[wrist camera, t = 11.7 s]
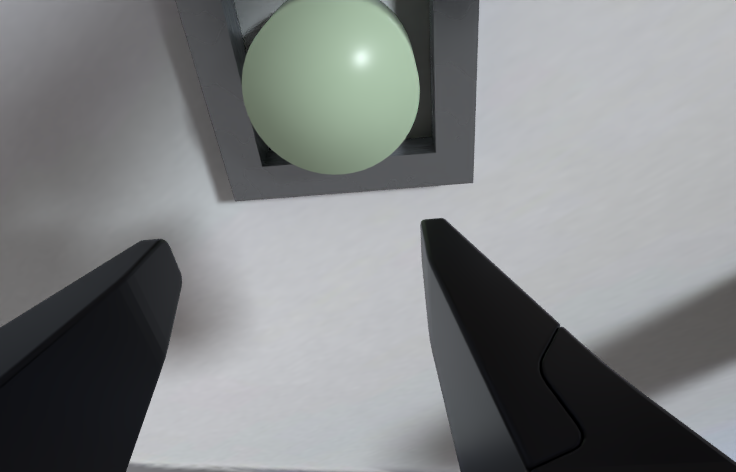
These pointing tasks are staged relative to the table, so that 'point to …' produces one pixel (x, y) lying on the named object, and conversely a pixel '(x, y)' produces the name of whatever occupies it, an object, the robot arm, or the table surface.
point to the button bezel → (399, 170)
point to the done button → (331, 84)
